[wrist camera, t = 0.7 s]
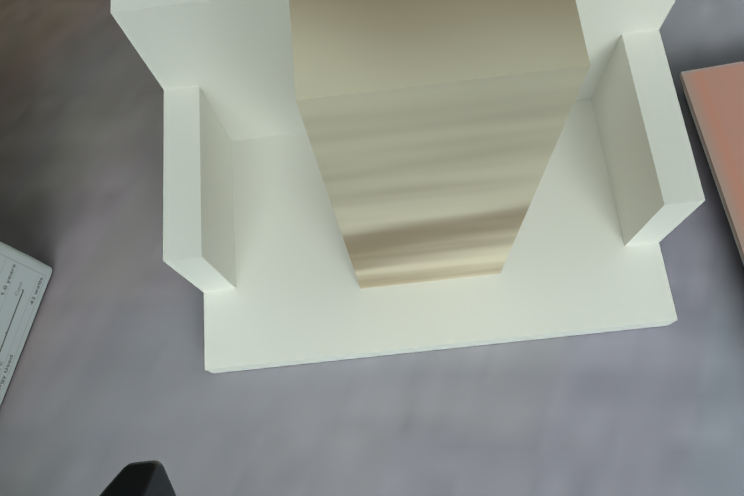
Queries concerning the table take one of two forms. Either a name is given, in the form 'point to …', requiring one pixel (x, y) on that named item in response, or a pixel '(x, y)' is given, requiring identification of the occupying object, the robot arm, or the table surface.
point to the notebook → (721, 133)
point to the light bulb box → (17, 305)
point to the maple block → (434, 123)
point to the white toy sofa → (319, 224)
